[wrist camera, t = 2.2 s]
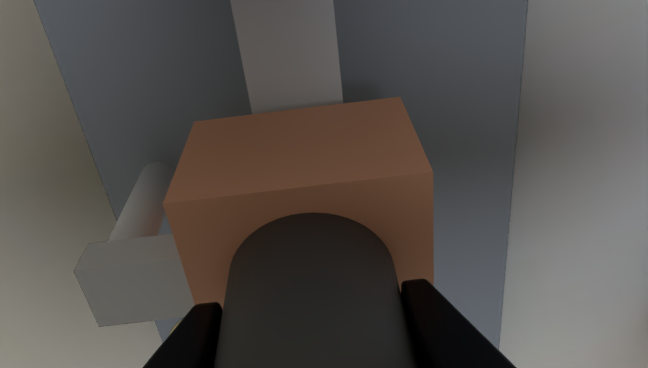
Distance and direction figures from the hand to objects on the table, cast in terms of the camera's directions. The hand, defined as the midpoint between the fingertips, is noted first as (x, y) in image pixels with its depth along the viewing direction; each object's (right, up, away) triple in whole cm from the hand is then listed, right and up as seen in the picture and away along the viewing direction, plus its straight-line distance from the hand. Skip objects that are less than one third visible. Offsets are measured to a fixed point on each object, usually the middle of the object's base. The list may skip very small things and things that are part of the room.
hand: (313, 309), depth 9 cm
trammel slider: (-1, +3, +5) cm, 5 cm away
